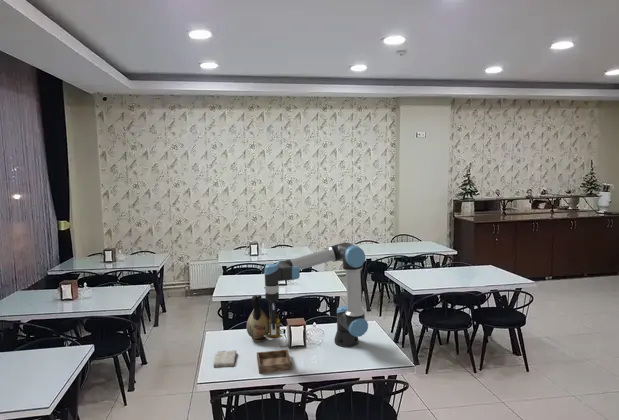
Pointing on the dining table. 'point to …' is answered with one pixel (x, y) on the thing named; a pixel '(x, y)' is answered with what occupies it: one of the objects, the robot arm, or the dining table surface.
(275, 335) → the condiment
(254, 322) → the ceramic jug
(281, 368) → the tray
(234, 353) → the washcloth
